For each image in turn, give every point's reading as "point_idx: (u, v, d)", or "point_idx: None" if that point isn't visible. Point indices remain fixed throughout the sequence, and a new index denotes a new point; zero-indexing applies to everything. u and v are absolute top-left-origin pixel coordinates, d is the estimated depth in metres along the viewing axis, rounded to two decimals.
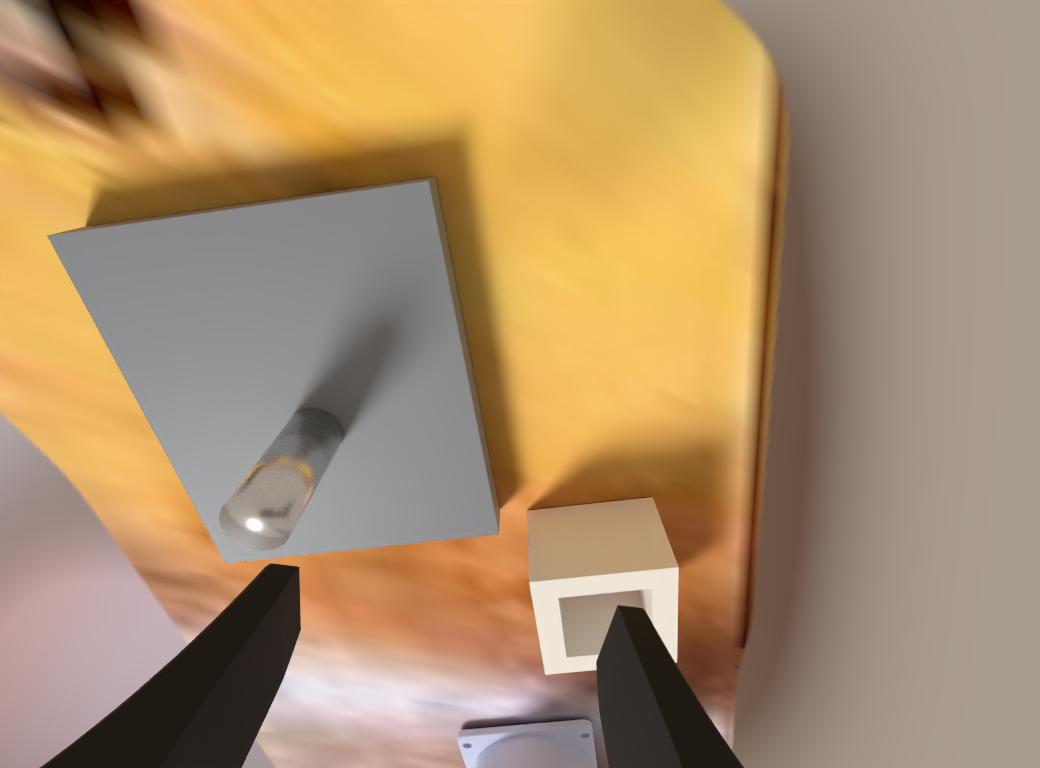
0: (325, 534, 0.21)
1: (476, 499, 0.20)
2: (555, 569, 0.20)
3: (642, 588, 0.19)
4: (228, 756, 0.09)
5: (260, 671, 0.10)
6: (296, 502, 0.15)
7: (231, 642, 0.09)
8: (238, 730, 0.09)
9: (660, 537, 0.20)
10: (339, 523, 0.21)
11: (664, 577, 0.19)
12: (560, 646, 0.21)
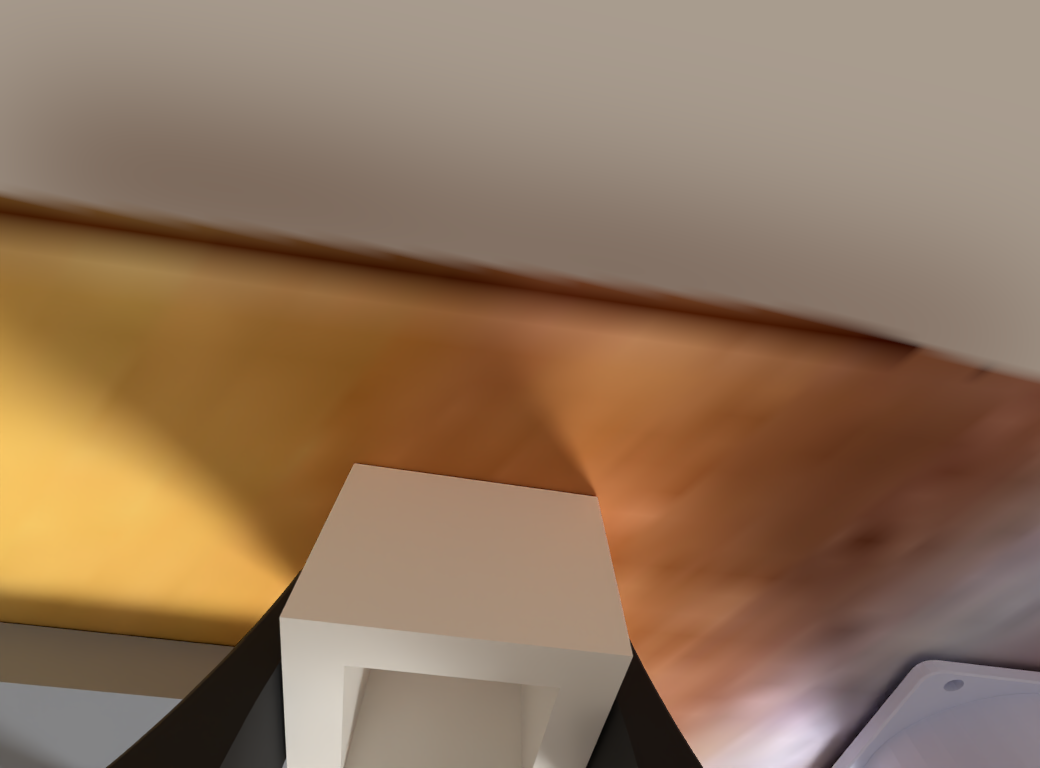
0: None
1: None
2: None
3: (339, 679, 0.08)
4: (270, 760, 0.09)
5: None
6: None
7: (275, 647, 0.09)
8: (279, 734, 0.09)
9: (316, 552, 0.09)
10: None
11: (311, 642, 0.08)
12: None
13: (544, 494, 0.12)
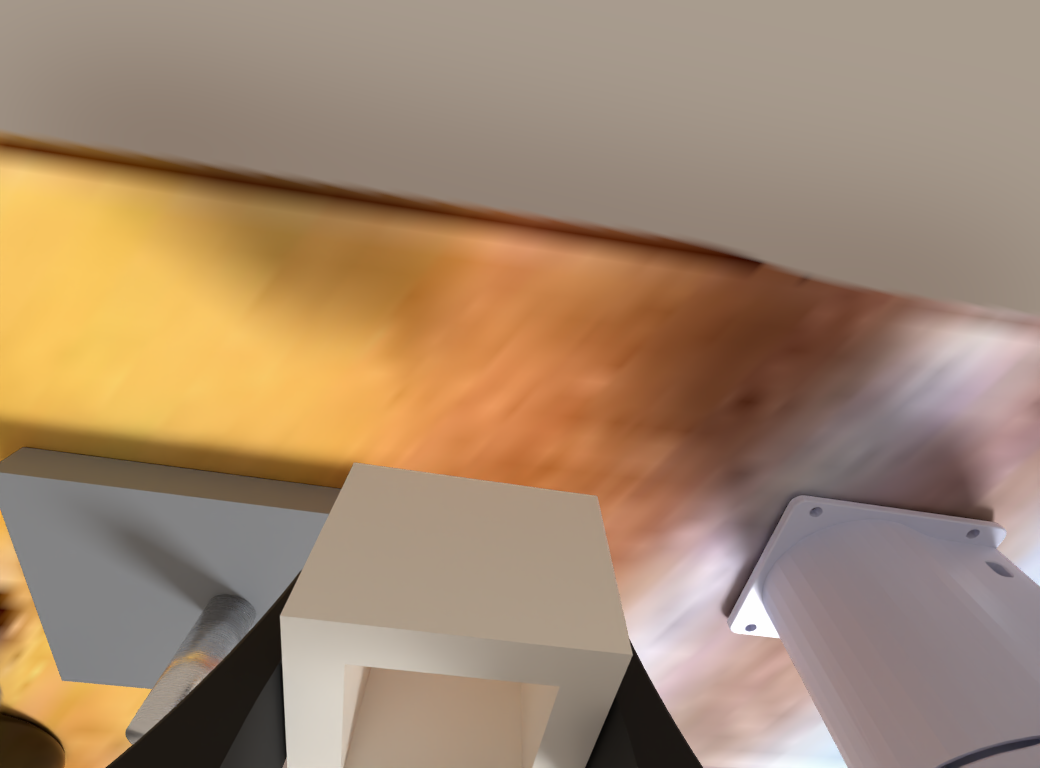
0: None
1: None
2: None
3: (339, 678, 0.08)
4: (270, 760, 0.09)
5: None
6: (161, 700, 0.17)
7: (274, 647, 0.09)
8: (279, 734, 0.09)
9: (315, 551, 0.09)
10: None
11: (311, 641, 0.08)
12: None
13: (544, 493, 0.12)
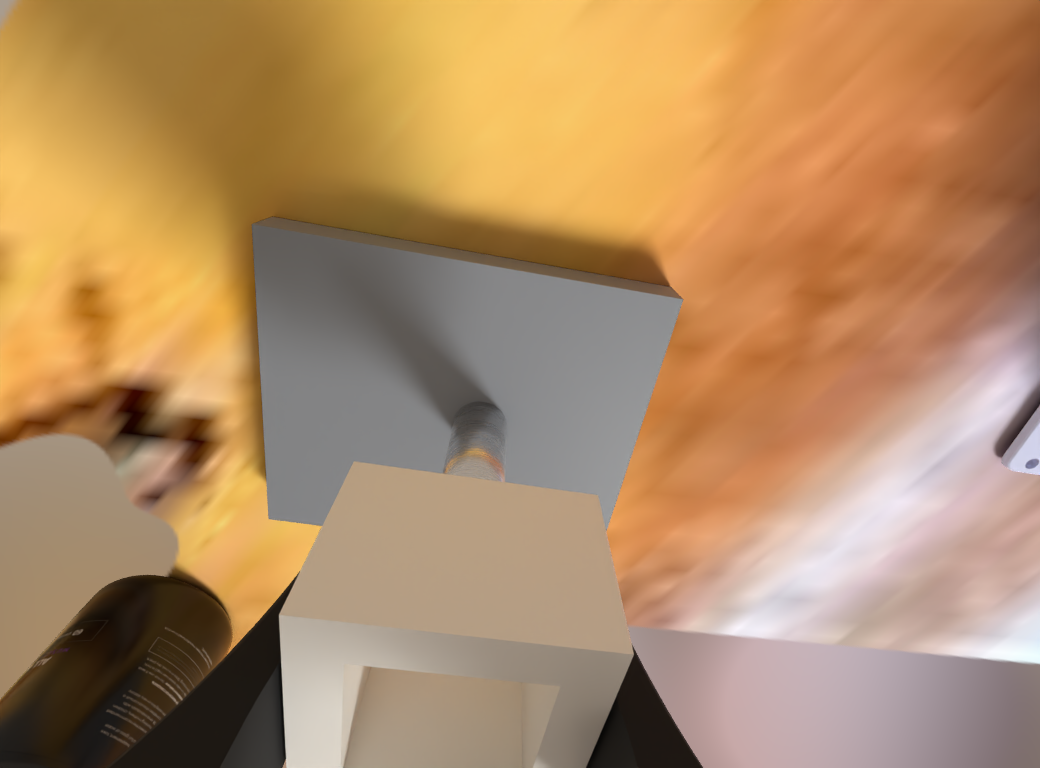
0: (601, 469, 0.20)
1: (621, 307, 0.17)
2: None
3: (339, 677, 0.08)
4: (270, 760, 0.09)
5: None
6: (471, 473, 0.15)
7: (275, 647, 0.09)
8: (279, 734, 0.09)
9: (315, 550, 0.09)
10: (593, 451, 0.20)
11: (311, 640, 0.08)
12: None
13: (544, 492, 0.12)
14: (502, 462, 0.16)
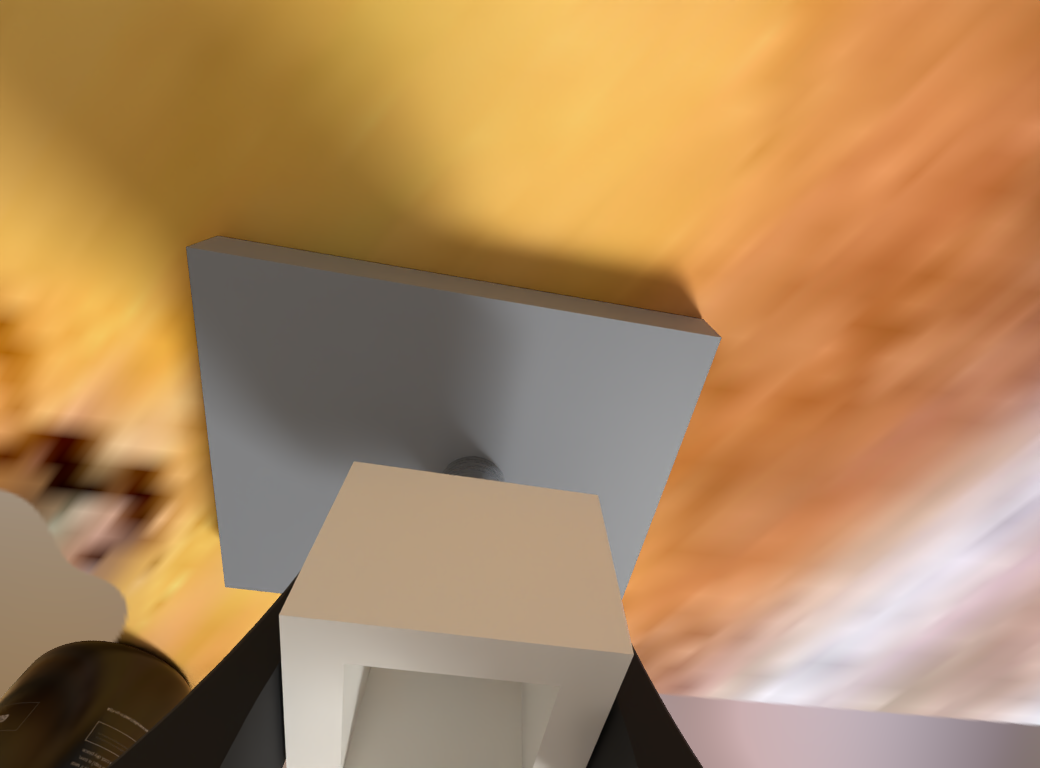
0: (617, 532, 0.17)
1: (645, 346, 0.14)
2: None
3: (339, 677, 0.08)
4: (270, 760, 0.09)
5: None
6: None
7: (275, 647, 0.09)
8: (279, 734, 0.09)
9: (315, 550, 0.09)
10: (608, 512, 0.17)
11: (311, 640, 0.08)
12: None
13: (544, 492, 0.12)
14: None
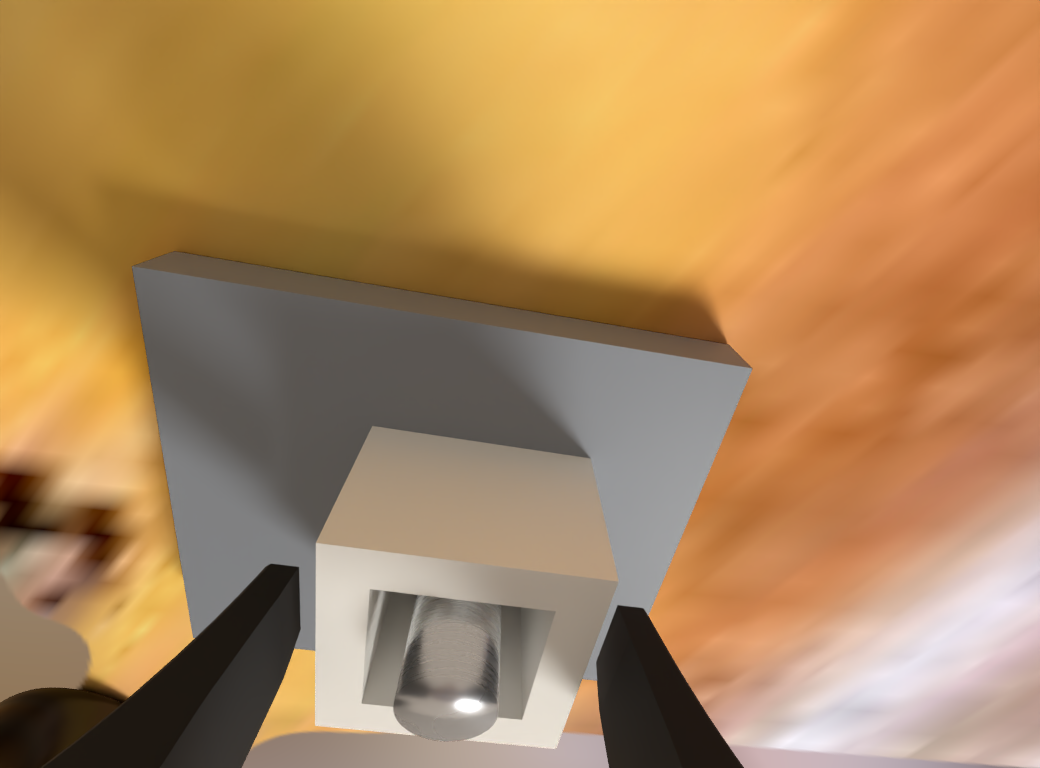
0: (629, 579, 0.15)
1: (665, 379, 0.12)
2: None
3: (364, 602, 0.10)
4: (228, 756, 0.09)
5: (260, 671, 0.10)
6: (449, 645, 0.10)
7: (231, 642, 0.09)
8: (238, 730, 0.09)
9: (342, 497, 0.11)
10: (619, 559, 0.15)
11: (342, 566, 0.09)
12: None
13: (543, 455, 0.13)
14: (497, 606, 0.11)
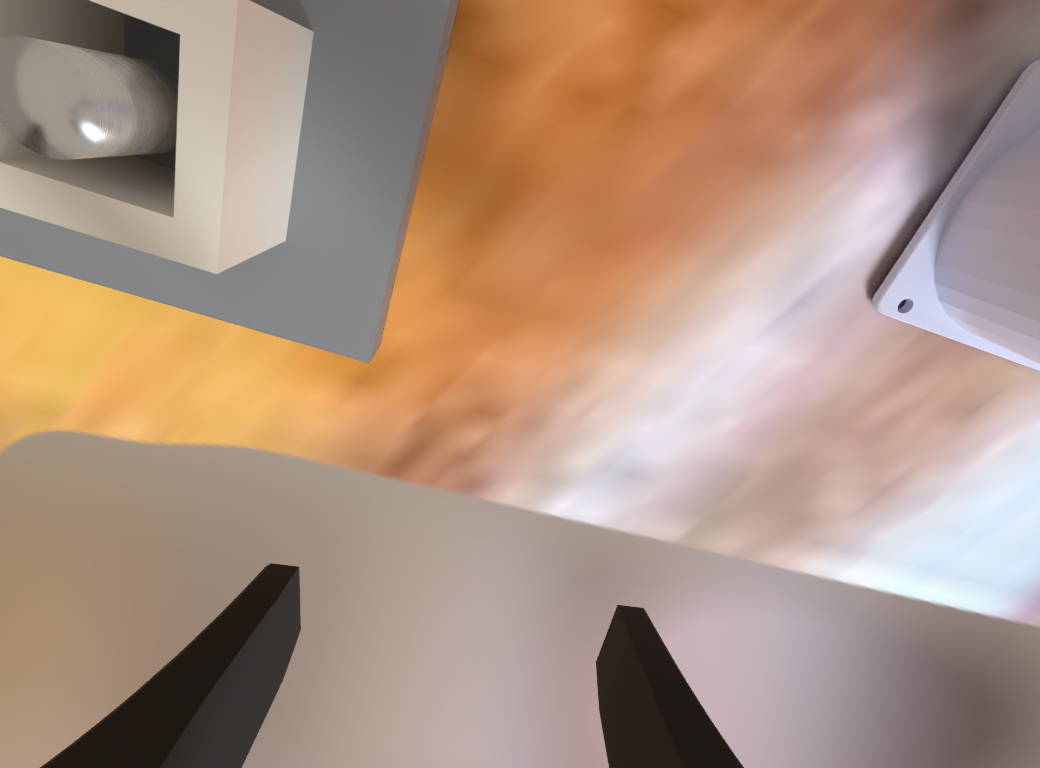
0: (368, 215, 0.15)
1: None
2: None
3: None
4: (228, 756, 0.09)
5: (260, 671, 0.10)
6: (59, 43, 0.10)
7: (231, 642, 0.09)
8: (238, 730, 0.09)
9: None
10: (355, 183, 0.15)
11: None
12: (137, 214, 0.11)
13: None
14: (159, 92, 0.11)
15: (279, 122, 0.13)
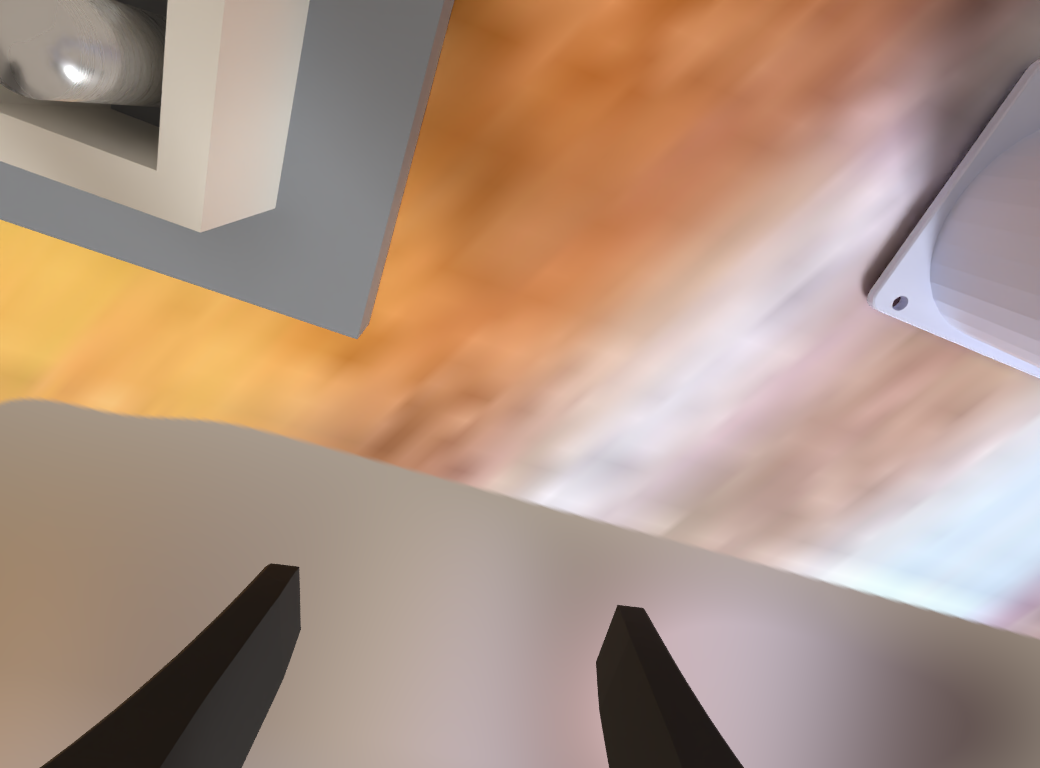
0: (361, 185, 0.15)
1: None
2: None
3: None
4: (228, 756, 0.09)
5: (260, 671, 0.10)
6: None
7: (231, 642, 0.09)
8: (238, 730, 0.09)
9: None
10: (349, 151, 0.14)
11: None
12: (119, 165, 0.11)
13: None
14: (146, 39, 0.11)
15: (272, 80, 0.12)
